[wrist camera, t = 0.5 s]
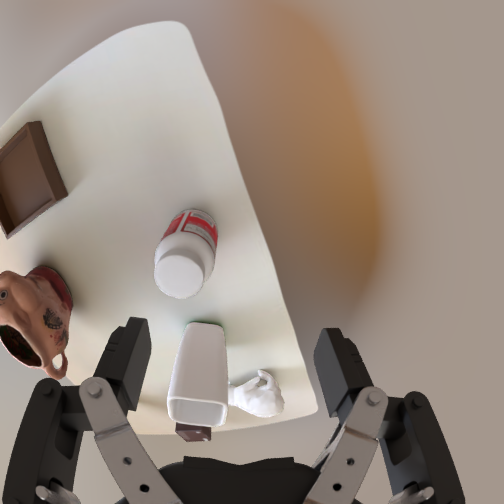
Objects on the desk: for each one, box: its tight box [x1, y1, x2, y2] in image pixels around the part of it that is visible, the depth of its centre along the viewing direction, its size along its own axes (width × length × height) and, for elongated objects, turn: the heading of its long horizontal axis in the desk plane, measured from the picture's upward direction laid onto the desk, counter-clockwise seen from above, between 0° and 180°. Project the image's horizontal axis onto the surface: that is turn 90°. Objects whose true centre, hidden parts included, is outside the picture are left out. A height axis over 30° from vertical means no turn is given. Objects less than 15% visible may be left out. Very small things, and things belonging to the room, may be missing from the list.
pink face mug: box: [0, 266, 73, 380], centre depth 31 cm, size 20×12×14 cm, turn 14°
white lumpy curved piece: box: [228, 370, 284, 417], centre depth 44 cm, size 6×8×12 cm
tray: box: [0, 121, 68, 239], centre depth 27 cm, size 14×12×3 cm
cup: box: [167, 322, 228, 427], centre depth 35 cm, size 7×7×15 cm
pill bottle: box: [154, 210, 218, 299], centre depth 29 cm, size 6×6×11 cm
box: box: [175, 422, 211, 442], centre depth 49 cm, size 6×6×7 cm
